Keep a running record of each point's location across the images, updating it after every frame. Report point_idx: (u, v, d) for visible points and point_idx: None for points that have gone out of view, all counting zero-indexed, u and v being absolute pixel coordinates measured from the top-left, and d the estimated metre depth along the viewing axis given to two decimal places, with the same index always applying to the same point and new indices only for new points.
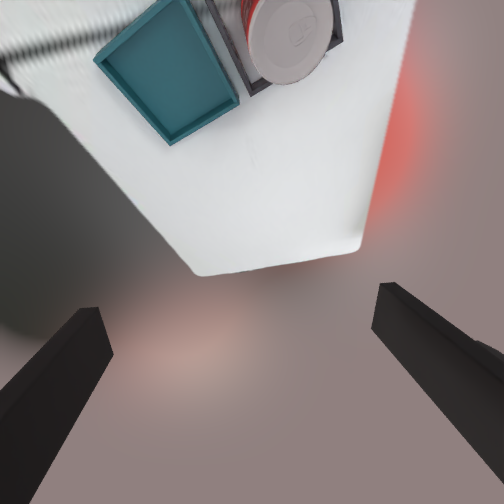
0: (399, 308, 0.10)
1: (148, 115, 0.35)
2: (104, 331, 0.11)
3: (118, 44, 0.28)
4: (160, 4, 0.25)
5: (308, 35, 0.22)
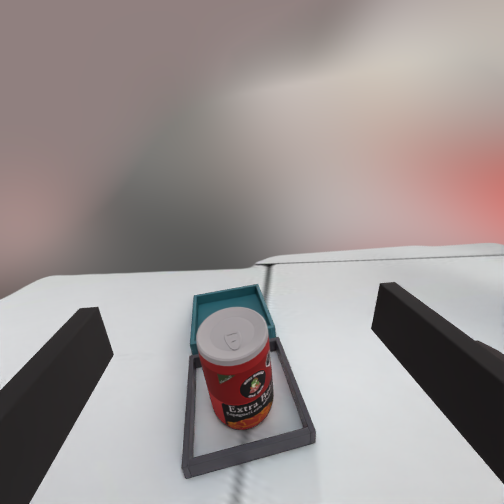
0: (399, 308, 0.10)
1: (219, 294, 0.47)
2: (104, 331, 0.11)
3: (260, 294, 0.45)
4: (269, 316, 0.39)
5: (227, 344, 0.24)
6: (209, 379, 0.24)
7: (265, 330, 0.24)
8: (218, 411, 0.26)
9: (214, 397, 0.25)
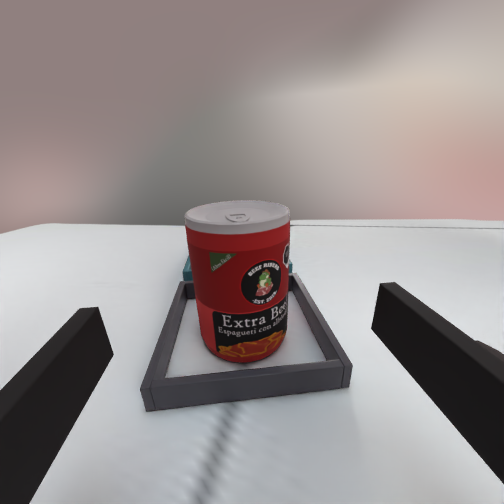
0: (399, 308, 0.10)
1: None
2: (104, 331, 0.11)
3: None
4: None
5: (228, 219, 0.16)
6: (197, 271, 0.16)
7: (286, 210, 0.16)
8: (207, 330, 0.18)
9: (203, 304, 0.17)
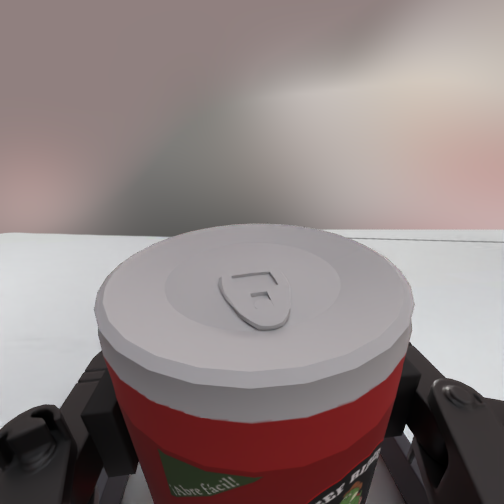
0: None
1: None
2: None
3: None
4: None
5: (228, 302, 0.05)
6: (137, 452, 0.05)
7: (392, 267, 0.06)
8: None
9: None
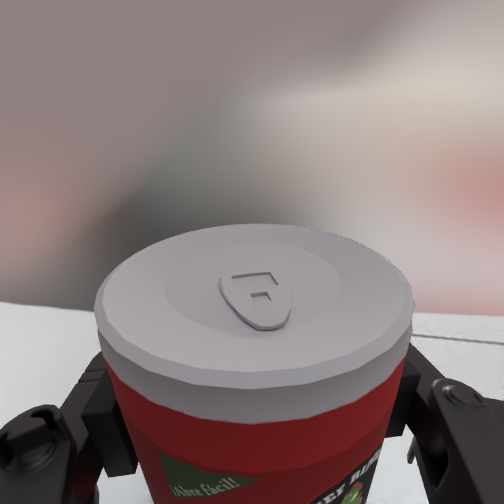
0: None
1: None
2: None
3: None
4: None
5: (228, 303, 0.05)
6: (136, 453, 0.05)
7: (392, 267, 0.06)
8: None
9: None
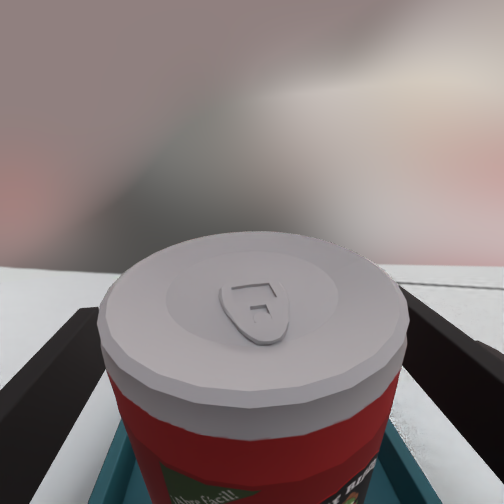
0: None
1: None
2: None
3: None
4: None
5: (228, 316, 0.05)
6: (138, 462, 0.06)
7: (388, 280, 0.06)
8: None
9: None
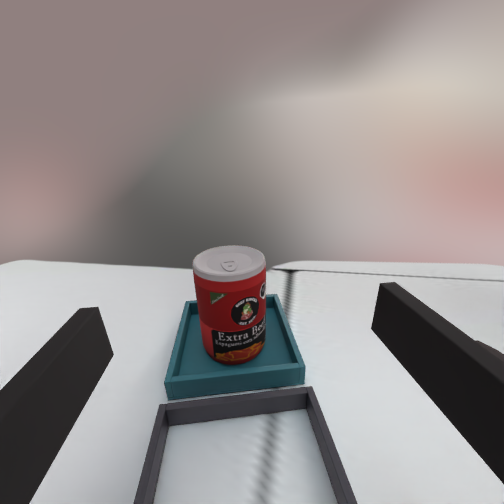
0: (399, 308, 0.10)
1: None
2: (105, 331, 0.11)
3: (280, 310, 0.31)
4: (296, 347, 0.25)
5: (222, 267, 0.23)
6: (201, 302, 0.23)
7: (262, 260, 0.24)
8: (207, 342, 0.25)
9: (205, 324, 0.24)
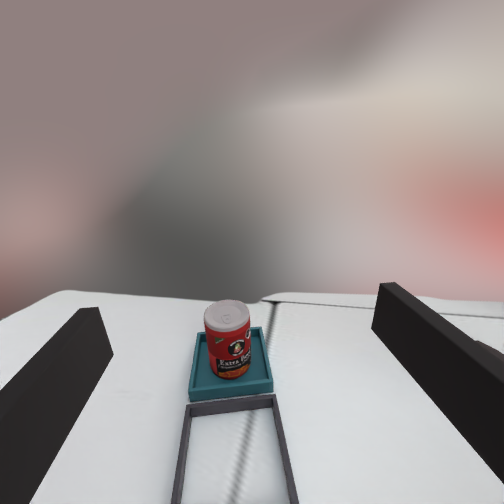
0: (399, 308, 0.10)
1: None
2: (104, 331, 0.11)
3: (262, 340, 0.46)
4: (269, 368, 0.39)
5: (222, 320, 0.38)
6: (209, 341, 0.38)
7: (247, 314, 0.39)
8: (213, 365, 0.40)
9: (211, 354, 0.39)
